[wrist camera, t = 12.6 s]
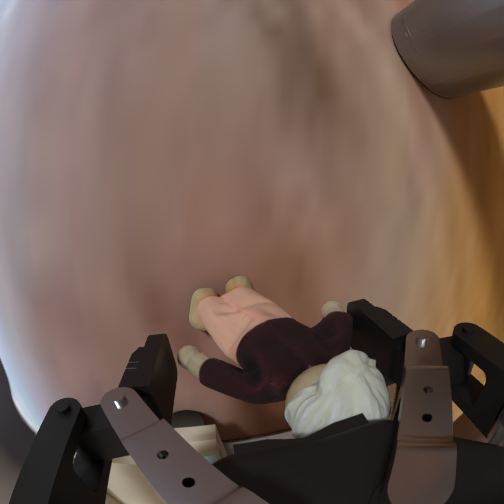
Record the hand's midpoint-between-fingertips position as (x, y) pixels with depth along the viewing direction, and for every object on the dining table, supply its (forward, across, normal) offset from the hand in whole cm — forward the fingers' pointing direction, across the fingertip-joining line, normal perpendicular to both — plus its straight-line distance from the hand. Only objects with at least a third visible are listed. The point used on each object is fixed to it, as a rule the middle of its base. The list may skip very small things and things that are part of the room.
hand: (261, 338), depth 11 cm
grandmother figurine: (+6, +1, 0) cm, 6 cm away
